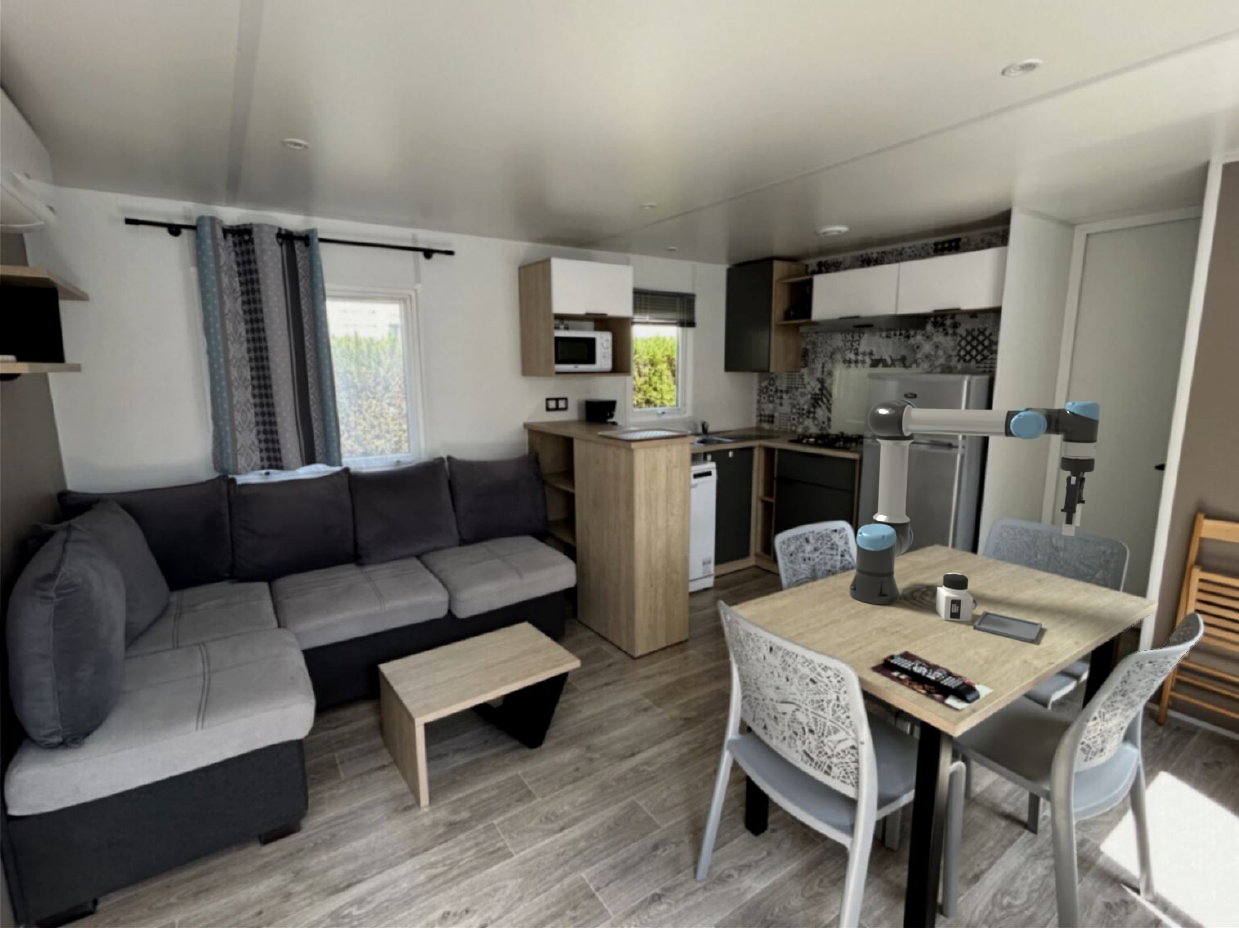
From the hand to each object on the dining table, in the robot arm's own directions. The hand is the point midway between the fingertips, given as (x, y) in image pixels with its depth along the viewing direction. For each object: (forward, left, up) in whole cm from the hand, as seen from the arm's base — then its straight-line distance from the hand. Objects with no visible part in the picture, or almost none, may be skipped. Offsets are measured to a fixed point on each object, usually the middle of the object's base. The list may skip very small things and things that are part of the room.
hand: (1070, 530), depth 167 cm
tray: (-11, -14, -28) cm, 33 cm away
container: (-25, -14, -28) cm, 40 cm away
